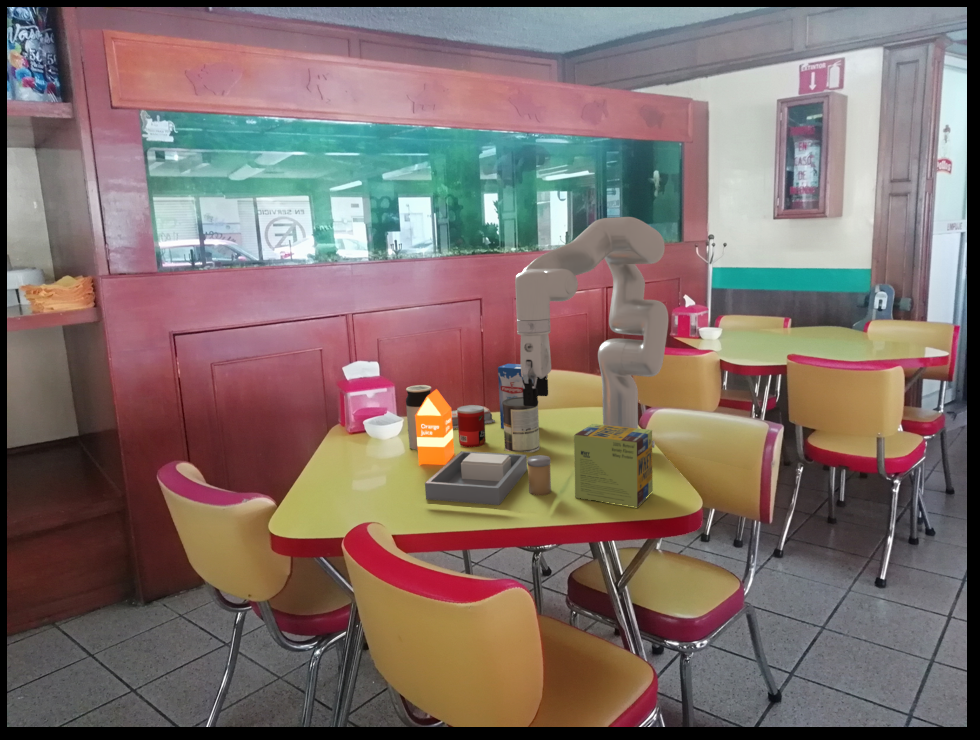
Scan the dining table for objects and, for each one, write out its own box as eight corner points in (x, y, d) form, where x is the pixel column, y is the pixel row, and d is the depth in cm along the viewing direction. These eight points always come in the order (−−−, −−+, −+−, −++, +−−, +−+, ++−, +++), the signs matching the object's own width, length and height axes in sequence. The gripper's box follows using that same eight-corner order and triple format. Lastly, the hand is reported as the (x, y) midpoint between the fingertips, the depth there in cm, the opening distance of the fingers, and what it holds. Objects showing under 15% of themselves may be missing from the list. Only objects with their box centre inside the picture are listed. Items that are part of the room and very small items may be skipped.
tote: (527, 473, 178) (526, 454, 177) (499, 509, 156) (498, 488, 155) (462, 469, 184) (461, 451, 183) (426, 503, 162) (424, 482, 161)
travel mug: (429, 451, 201) (425, 391, 197) (404, 449, 203) (400, 390, 200) (440, 443, 208) (436, 385, 205) (416, 441, 211) (412, 384, 207)
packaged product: (483, 403, 236) (494, 409, 227) (483, 417, 237) (495, 424, 228) (433, 411, 229) (443, 417, 220) (434, 425, 230) (443, 432, 221)
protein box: (638, 509, 152) (637, 442, 149) (574, 498, 160) (572, 434, 157) (653, 493, 161) (653, 429, 158) (592, 483, 169) (591, 422, 166)
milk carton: (537, 426, 221) (534, 365, 217) (527, 431, 216) (525, 369, 212) (510, 423, 226) (507, 363, 222) (500, 428, 221) (497, 367, 217)
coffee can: (497, 451, 198) (495, 403, 195) (517, 441, 206) (514, 395, 203) (527, 456, 192) (525, 407, 189) (546, 446, 200) (545, 398, 197)
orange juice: (454, 457, 194) (450, 388, 190) (446, 468, 185) (441, 396, 182) (428, 457, 196) (423, 388, 192) (418, 467, 187) (413, 395, 183)
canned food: (485, 447, 202) (483, 410, 200) (458, 448, 202) (456, 412, 200) (486, 439, 210) (484, 404, 207) (460, 440, 210) (457, 405, 208)
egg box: (511, 472, 177) (510, 454, 176) (503, 481, 170) (502, 463, 169) (471, 469, 180) (470, 452, 179) (461, 478, 174) (460, 461, 173)
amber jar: (553, 491, 165) (552, 455, 163) (548, 500, 160) (547, 463, 158) (532, 490, 166) (530, 454, 165) (526, 498, 161) (524, 462, 160)
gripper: (540, 332, 146) (542, 410, 149) (558, 321, 162) (560, 392, 165) (506, 332, 148) (509, 409, 152) (527, 322, 164) (530, 391, 168)
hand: (536, 400), depth 158 cm, fingers open, 9 cm apart
